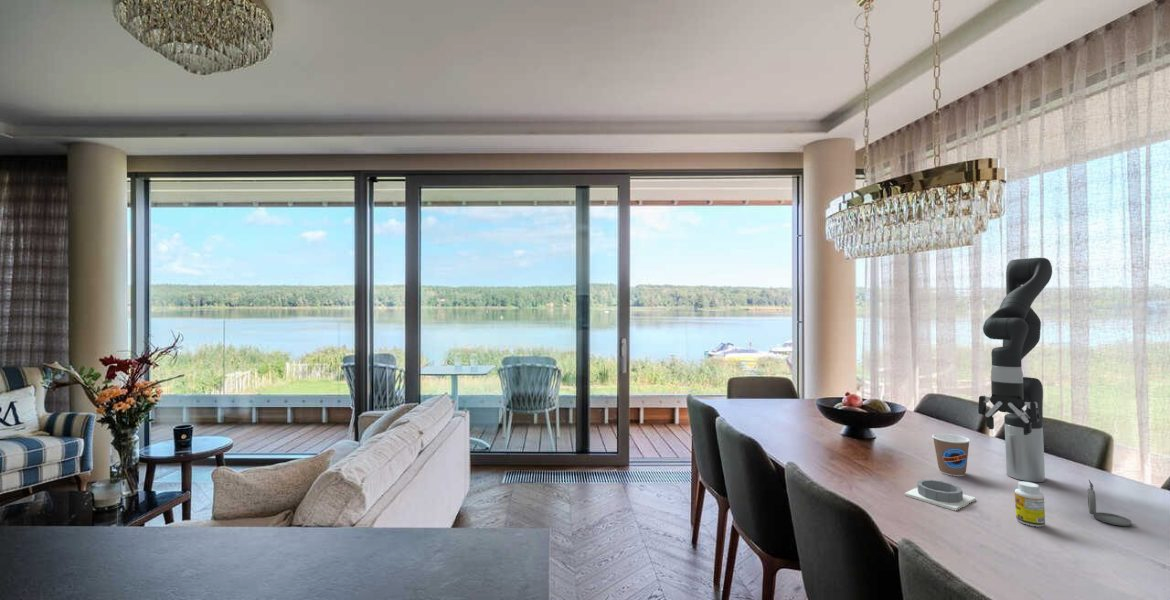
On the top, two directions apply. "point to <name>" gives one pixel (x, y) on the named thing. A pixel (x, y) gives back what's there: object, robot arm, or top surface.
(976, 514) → the top surface
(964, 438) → the coffee cup
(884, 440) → the top surface
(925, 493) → the ring holder
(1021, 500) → the supplement bottle
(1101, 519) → the pocket watch
